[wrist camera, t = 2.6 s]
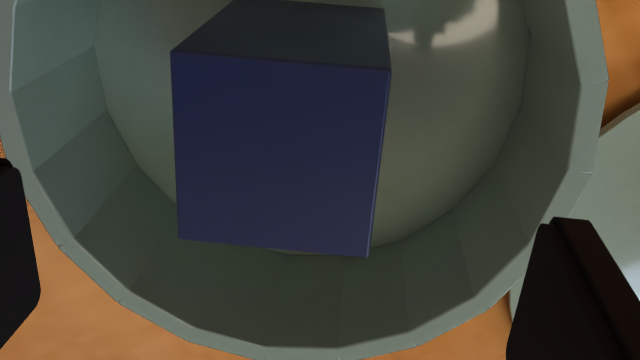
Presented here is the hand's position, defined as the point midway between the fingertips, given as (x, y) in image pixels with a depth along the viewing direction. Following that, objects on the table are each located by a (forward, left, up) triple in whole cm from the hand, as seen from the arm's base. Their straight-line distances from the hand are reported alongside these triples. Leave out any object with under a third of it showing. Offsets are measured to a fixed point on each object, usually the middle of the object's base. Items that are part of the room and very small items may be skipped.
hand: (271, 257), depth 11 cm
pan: (0, 0, -12) cm, 12 cm away
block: (0, 0, -11) cm, 11 cm away
